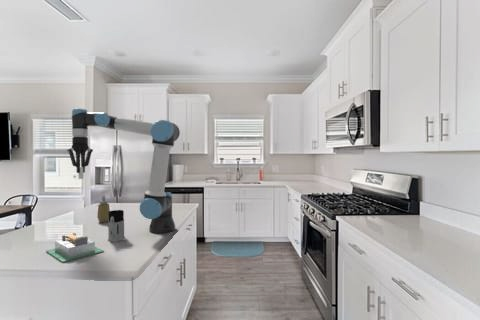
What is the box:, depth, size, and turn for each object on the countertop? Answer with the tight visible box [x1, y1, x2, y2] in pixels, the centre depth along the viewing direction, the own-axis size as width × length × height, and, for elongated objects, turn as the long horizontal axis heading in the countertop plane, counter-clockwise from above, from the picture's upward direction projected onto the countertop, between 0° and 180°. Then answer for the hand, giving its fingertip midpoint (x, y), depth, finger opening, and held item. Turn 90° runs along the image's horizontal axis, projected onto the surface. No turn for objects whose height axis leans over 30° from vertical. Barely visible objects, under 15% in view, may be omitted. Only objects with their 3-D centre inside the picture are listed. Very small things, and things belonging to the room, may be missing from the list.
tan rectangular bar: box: [65, 233, 84, 241], centre depth 130 cm, size 14×3×2 cm, turn 50°
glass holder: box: [107, 209, 126, 242], centre depth 147 cm, size 9×14×15 cm, turn 10°
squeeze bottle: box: [96, 195, 111, 223], centre depth 190 cm, size 8×8×18 cm
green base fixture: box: [45, 232, 105, 264], centre depth 130 cm, size 22×17×8 cm
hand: (80, 178), depth 156 cm, fingers closed
